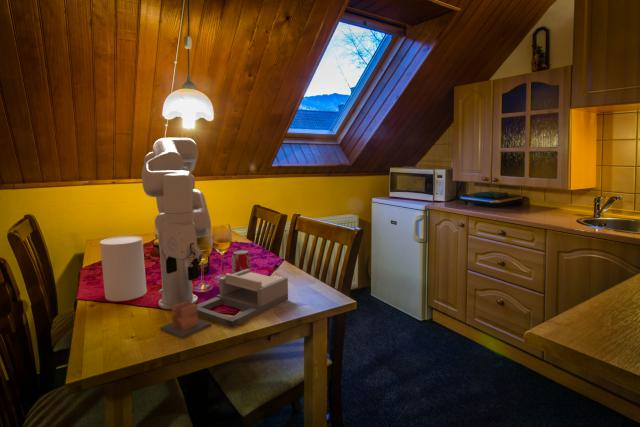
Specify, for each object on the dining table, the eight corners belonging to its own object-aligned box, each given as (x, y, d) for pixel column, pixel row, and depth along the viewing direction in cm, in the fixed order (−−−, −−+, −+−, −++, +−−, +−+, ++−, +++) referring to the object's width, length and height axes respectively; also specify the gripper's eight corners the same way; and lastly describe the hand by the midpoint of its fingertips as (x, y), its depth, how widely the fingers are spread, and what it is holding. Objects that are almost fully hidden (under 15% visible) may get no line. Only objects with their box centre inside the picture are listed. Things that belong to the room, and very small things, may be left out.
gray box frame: (190, 313, 131) (188, 289, 130) (247, 289, 153) (247, 268, 151) (232, 327, 121) (231, 301, 120) (288, 300, 142) (287, 277, 141)
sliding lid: (225, 283, 140) (225, 274, 140) (250, 274, 150) (249, 265, 150) (259, 292, 132) (258, 282, 131) (283, 281, 142) (282, 272, 141)
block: (173, 325, 120) (171, 306, 120) (187, 319, 125) (186, 301, 124) (183, 330, 118) (182, 310, 117) (198, 324, 122) (197, 304, 121)
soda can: (247, 285, 158) (246, 254, 156) (229, 283, 159) (228, 253, 157) (253, 279, 164) (252, 249, 162) (236, 278, 166) (235, 249, 164)
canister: (120, 303, 140) (114, 246, 136) (97, 296, 147) (91, 241, 143) (154, 291, 151) (150, 238, 148) (131, 285, 158) (127, 234, 155)
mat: (160, 329, 120) (160, 327, 120) (188, 317, 128) (188, 315, 128) (182, 338, 114) (182, 336, 114) (210, 325, 122) (210, 323, 122)
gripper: (148, 216, 117) (152, 273, 121) (188, 223, 108) (191, 285, 111) (171, 212, 124) (174, 266, 127) (210, 219, 114) (213, 278, 117)
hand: (182, 275), depth 119 cm, fingers open, 9 cm apart
